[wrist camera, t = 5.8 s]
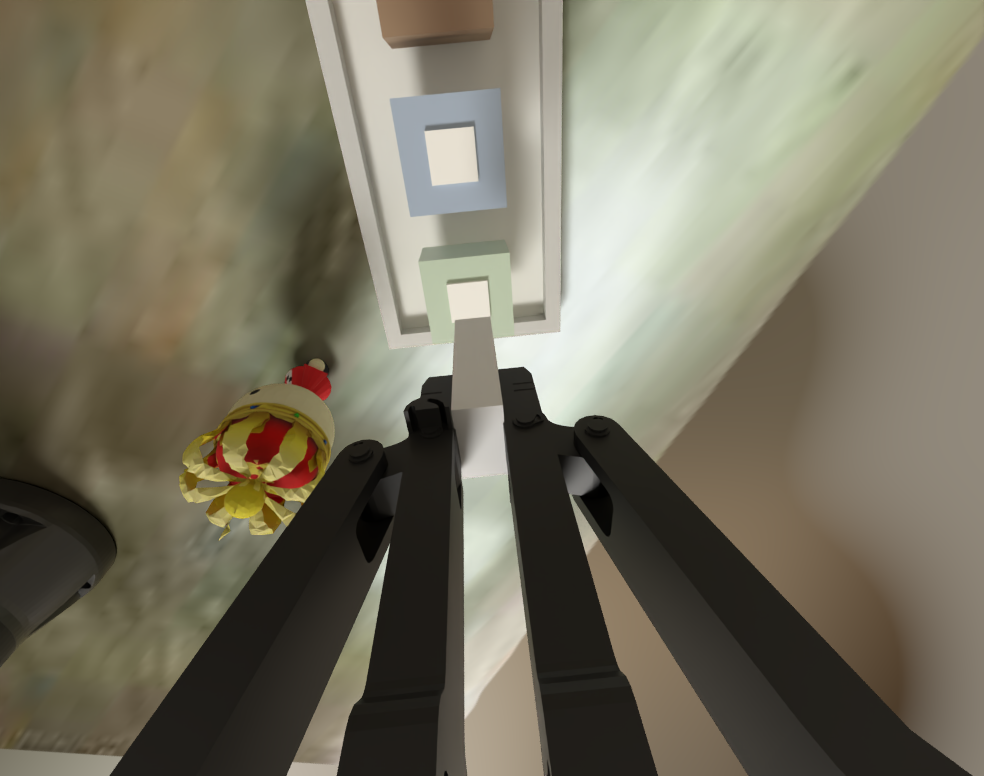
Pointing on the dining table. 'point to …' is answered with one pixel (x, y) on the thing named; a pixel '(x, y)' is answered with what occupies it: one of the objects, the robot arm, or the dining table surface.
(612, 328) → the dining table surface
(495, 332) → the key
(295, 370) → the toy
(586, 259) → the dining table surface
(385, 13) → the key
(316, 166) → the dining table surface
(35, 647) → the dining table surface
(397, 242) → the base
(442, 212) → the blue square block
